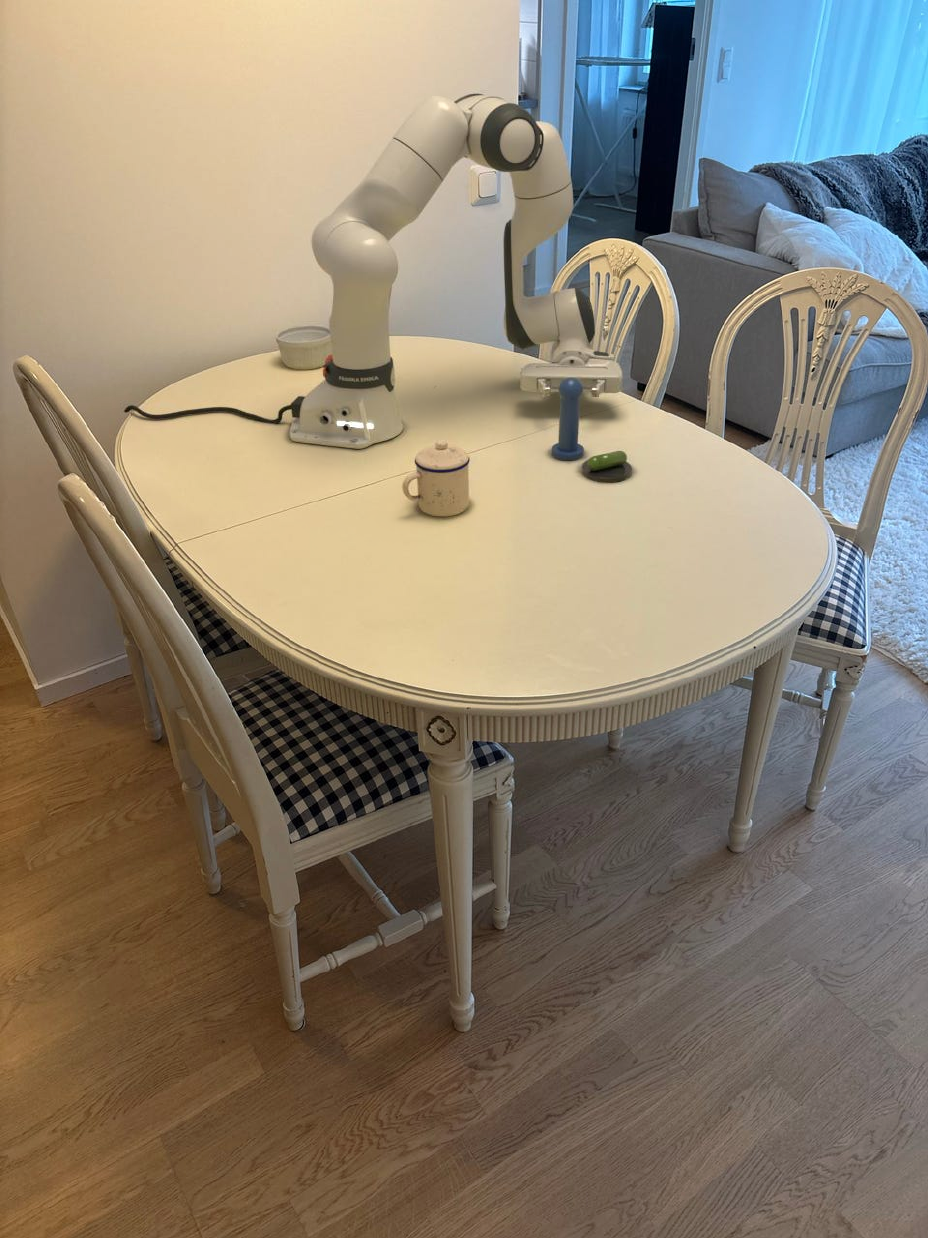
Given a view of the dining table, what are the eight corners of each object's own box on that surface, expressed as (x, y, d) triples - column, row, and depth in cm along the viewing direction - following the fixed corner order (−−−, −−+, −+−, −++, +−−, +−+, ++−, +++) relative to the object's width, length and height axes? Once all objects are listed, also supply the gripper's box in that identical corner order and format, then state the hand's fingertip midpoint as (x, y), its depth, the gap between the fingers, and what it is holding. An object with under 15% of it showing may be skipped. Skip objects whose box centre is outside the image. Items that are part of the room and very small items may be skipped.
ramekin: (271, 370, 212) (267, 340, 208) (289, 352, 223) (286, 323, 219) (326, 372, 210) (323, 342, 206) (342, 354, 221) (339, 325, 217)
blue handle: (551, 460, 169) (554, 383, 161) (551, 446, 174) (554, 371, 166) (583, 461, 169) (588, 384, 160) (583, 447, 174) (588, 372, 165)
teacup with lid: (453, 488, 160) (451, 426, 154) (480, 509, 154) (479, 444, 147) (392, 506, 156) (388, 442, 149) (418, 527, 149) (414, 462, 142)
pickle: (597, 486, 160) (599, 468, 158) (572, 466, 167) (573, 449, 165) (641, 476, 163) (643, 458, 161) (614, 457, 170) (615, 440, 168)
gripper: (521, 352, 187) (517, 376, 176) (621, 353, 185) (624, 377, 174) (520, 382, 191) (516, 407, 179) (619, 383, 189) (622, 409, 177)
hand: (570, 392), depth 177 cm, fingers open, 8 cm apart
